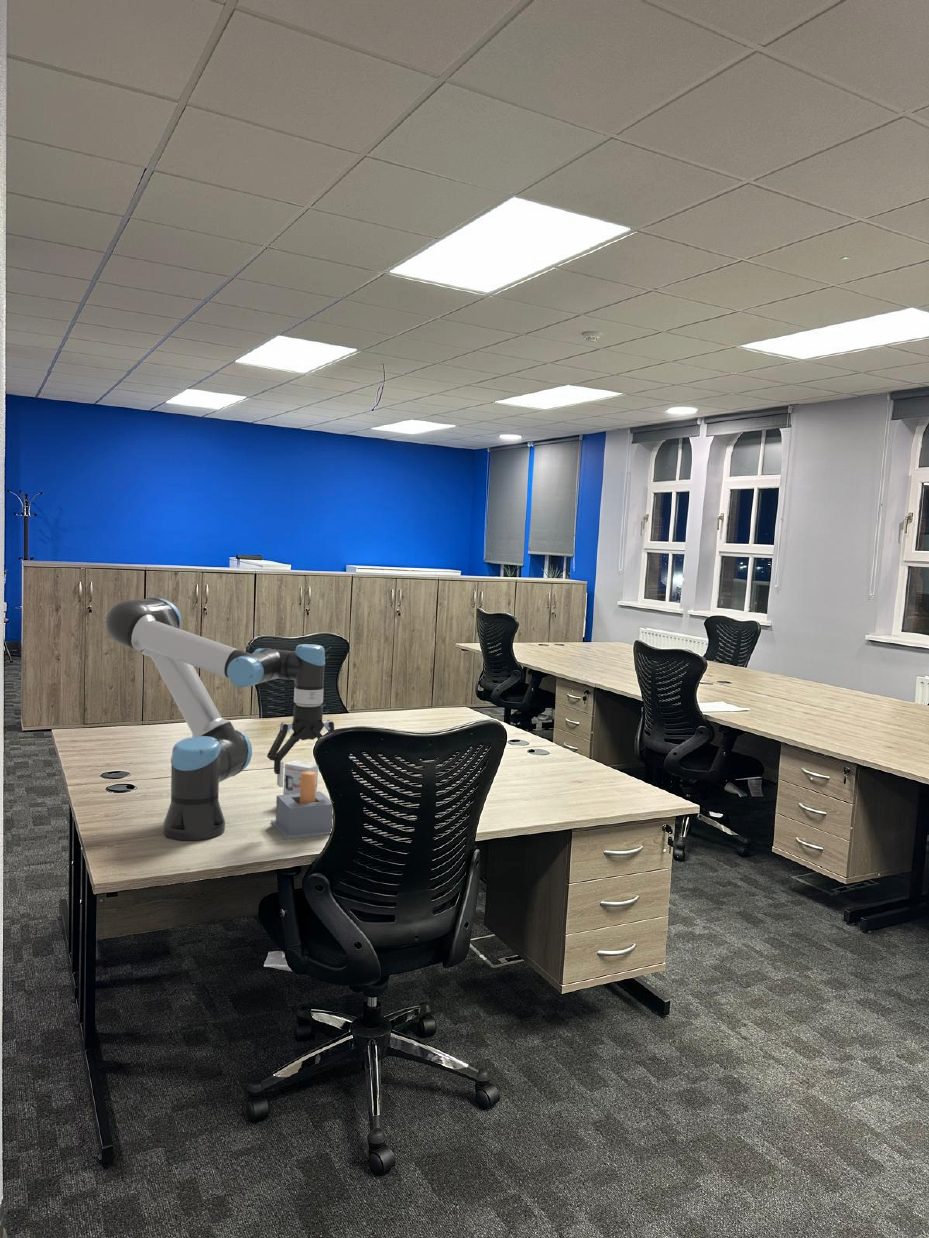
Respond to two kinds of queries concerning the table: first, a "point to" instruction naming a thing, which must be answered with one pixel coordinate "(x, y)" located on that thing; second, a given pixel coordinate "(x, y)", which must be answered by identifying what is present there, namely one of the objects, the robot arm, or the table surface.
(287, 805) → the socket block
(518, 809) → the table surface
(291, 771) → the ink box
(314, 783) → the dowel
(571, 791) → the table surface
